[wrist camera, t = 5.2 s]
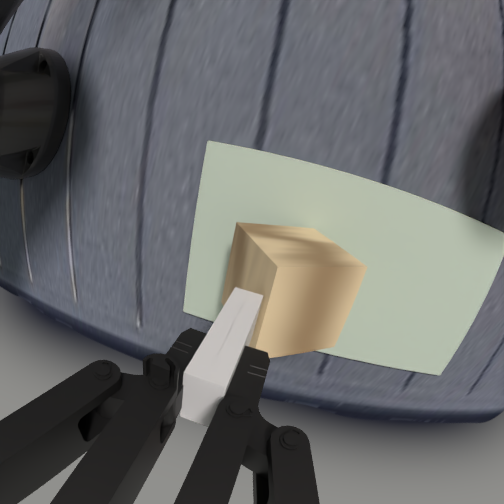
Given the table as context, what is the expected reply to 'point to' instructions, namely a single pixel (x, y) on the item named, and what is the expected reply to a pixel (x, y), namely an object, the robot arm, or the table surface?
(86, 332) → the table surface
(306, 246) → the wooden block
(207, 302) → the felt mat
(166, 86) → the table surface
